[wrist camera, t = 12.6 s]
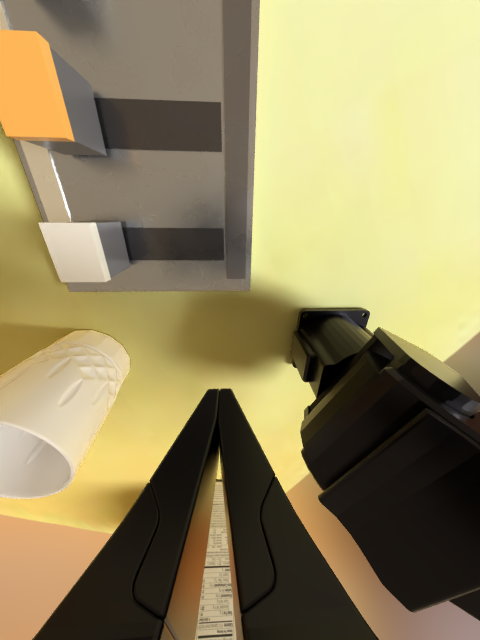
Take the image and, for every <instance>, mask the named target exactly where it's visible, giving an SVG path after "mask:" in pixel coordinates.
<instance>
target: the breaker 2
mask: <svg viewBox="0 0 480 640" xmlns="http://www.w3.org/2000/svg"><path fill="white" fill-rule="evenodd" d="M38 224H39V226H40V229H41V232H42V234H43V237H44V240H45V242H46V245H47V247H48V250H49V253H50V255H51V258H52V261H53V263H54V266H55V268H56V271H57V274H58V276H59V279H60V282H107V281H109V280H110V279H111V277H113V276H115V275H117V274H119V273H120V272H122V271H124V270H126V269H127V268H129V267H130V263H129V258H128V253H127V249H126V244H125V240H124V235H123V231H122V226H121V222H120V221H74V222H39V223H38Z"/></svg>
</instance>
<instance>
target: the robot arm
mask: <svg viewBox="0 0 480 640" xmlns="http://www.w3.org/2000/svg"><path fill="white" fill-rule="evenodd" d="M306 313H307V315H306V316H304V317H303V315H304V314H306ZM363 313H365V314H364V315H363V316H362V314H363ZM369 316H370V313H369V311H367V310H366V309H303V310H301V311H300V313H299V317H298V324H297V330H295V331H294V333H293V339H292V346H291V355H292V365H293V367H295V368H297V369H298V371H299V374H300V376H301V378H302V380H303V381H304V382H309V384H310V386H311V388H312V390H313V392H314V394H315V396H316V400H315V401H314V402H313V403H312V404H311V405H310V406H308V407H307V408H306V409H305V410H304V420H303V422H302V425H301V431H300V433H301V438H302V443H303V447H304V448H303V449H302V451H301V453H302V457H303V459H304V461H305V463H306V466H307V468H308V470H309V471H310V473H311V474H312V476H313V478H314V479H315V481H316V483H317V484H318V485H319V486H320V488H321V489H322V490H323V492H322V493H320V494H319V496H318V498H319V501H320V502H321V503H322V504H323V505H324V506H325V507H326V508H327V509H328V510H329V511H330V512H332V513H333V514H334V515H335V516H336V517H337V518H338V520H339V521H340V522H341V523H342V524H343V526H344V527H345V528H346V529H347V531H348V532H349V533H350V534H351V536H352V537H353V539H354V540H355V542H356V543H357V544H358V546H359V547H360V549H361V550H362V552H363V554H364V555H365V557H366V559H367V560H368V562H369V563H370V565H371V567H372V568H373V570H374V572H375V573H376V575H377V576H378V578H379V580H380V581H381V583H382V584H383V585H384V586H385V587H386V588H387V590H389V592H390V593H391V594H392V595H393V596H394V597H396V598H397V599H398V600H399V601H400V602H401V603H402V604H403V605H404V606H405V607H406V608H407V609H408V610H409V611H411V612H417V611H420V610H423V609H426V608H429V607H432V606H434V605H437V604H440V603H443V602H446V601H450V602H451V603H453V604H454V605H456V606H458V607H459V608H461V609H462V610H464V611H465V612H467V613H468V614H470V615H471V616H473V617H475V618H476V619H478V620H479V621H480V396H479V395H478V394H477V393H476V391H475V390H474V389H473V388H472V387H471V386H470V385H469V384H468V383H467V381H466V380H465V379H464V378H463V377H462V376H461V375H460V374H459V373H458V372H456V371H455V370H453V369H452V368H450V367H449V366H447V365H446V364H444V363H443V362H441V361H440V360H438V359H437V358H435V357H434V356H432V355H431V354H429V353H428V352H426V351H424V350H423V349H421V348H419V347H417V346H415V345H413V344H411V343H409V342H407V341H405V340H403V339H401V338H400V337H398V336H396V335H394V334H392V333H390V332H388V331H386V330H384V329H382V328H380V327H378V328H377V329H376V331H375V332H374V334H373V333H371V332H370V331H369V330H368V329H367V328H366V325H367V322H368V319H369ZM219 449H220V463H221V474H222V485H223V496H224V507H225V518H226V529H227V540H228V551H229V562H230V573H231V584H232V595H233V606H234V617H235V628H236V639H237V640H379V639H378V638H377V637H376V635H375V634H374V633H373V631H372V630H371V628H370V627H369V625H368V624H367V623H366V621H365V620H364V618H363V617H362V615H361V614H360V612H359V611H358V609H357V608H356V606H355V605H354V603H353V602H352V600H351V599H350V597H349V596H348V594H347V592H346V591H345V589H344V588H343V586H342V585H341V583H340V582H339V580H338V579H337V577H336V575H335V574H334V572H333V571H332V569H331V568H330V566H329V565H328V563H327V562H326V560H325V558H324V557H323V555H322V554H321V552H320V551H319V549H318V548H317V546H316V545H315V543H314V541H313V540H312V538H311V537H310V535H309V534H308V532H307V530H306V529H305V527H304V525H303V524H302V522H301V520H300V519H299V517H298V516H297V514H296V512H295V510H294V509H293V507H292V505H291V503H290V501H289V500H288V498H287V496H286V494H285V492H284V490H283V488H282V487H281V485H280V483H279V481H278V479H277V477H275V473H274V471H273V469H272V467H271V465H270V463H269V462H268V460H267V458H266V456H265V454H264V452H263V450H262V448H261V446H260V444H259V442H258V440H257V438H256V436H255V434H254V432H253V430H252V428H251V426H250V425H249V423H248V421H247V419H246V417H245V415H244V413H243V411H242V409H241V407H240V405H239V403H238V401H237V399H236V397H235V395H234V393H233V391H232V390H231V389H220V390H219V389H209V390H207V392H206V393H205V395H204V397H203V398H202V400H201V401H200V403H199V404H198V406H197V407H196V409H195V410H194V412H193V414H192V415H191V417H190V418H189V420H188V421H187V423H186V424H185V426H184V428H183V429H182V431H181V432H180V434H179V435H178V437H177V438H176V440H175V442H174V443H173V445H172V446H171V448H170V449H169V451H168V452H167V454H166V455H165V457H164V459H163V460H162V462H161V463H160V465H159V466H158V468H157V469H156V471H155V473H154V474H153V476H152V477H151V479H150V483H147V485H146V486H145V488H144V489H143V491H142V493H141V494H140V496H139V497H138V499H137V500H136V502H135V503H134V505H133V506H132V508H131V509H130V511H129V512H128V513H127V515H126V516H125V518H124V519H123V521H122V522H121V524H120V525H119V526H118V528H117V529H116V530H115V532H114V533H113V534H112V536H111V537H110V539H109V540H108V541H107V543H106V544H105V545H104V547H103V548H102V550H101V551H100V552H99V553H98V555H97V556H96V557H95V559H94V560H93V561H92V562H91V564H90V565H89V566H88V568H87V569H86V570H85V572H84V573H83V574H82V576H81V577H80V578H79V579H78V581H77V582H76V584H75V585H74V586H73V587H72V589H71V590H70V591H69V593H68V594H67V595H66V596H65V598H64V599H63V600H62V602H61V603H60V604H59V606H58V607H57V608H56V610H55V611H54V612H53V613H52V615H51V616H50V618H49V619H48V620H47V621H46V623H45V624H44V625H43V627H42V628H41V629H40V630H39V632H38V633H37V634H36V636H35V637H34V638H33V639H32V640H195V635H196V628H197V620H198V612H199V605H200V597H201V590H202V582H203V575H204V567H205V560H206V552H207V544H208V537H209V529H210V522H211V514H212V507H213V499H214V492H215V484H216V476H217V469H218V461H219Z"/></svg>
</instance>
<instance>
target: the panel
mask: <svg viewBox="0 0 480 640" xmlns="http://www.w3.org/2000/svg"><path fill="white" fill-rule="evenodd" d="M259 8H260V0H0V30H19V31H36V32H37V33H39V34H40V35H41V36H42V37H43V38H44V39H45V40H46V41H47V42H48V43H49V46H50V47H51V48H52V49H53V50H54V51H55V52H56V53H57V54H58V55H59V56H61V57H62V58H63V59H64V60H65V61H66V62H67V63H68V64H69V65H70V66H71V67H72V68H74V69H75V70H76V71H77V72H78V73H79V74H80V75H81V76H82V77H83V78H84V79H85V80H87V81H88V82H89V83H90V84H91V87H92V91H93V96H94V100H95V105H96V110H97V114H98V119H99V123H100V128H101V132H102V137H103V141H104V146H105V151H106V155H107V156H99V155H64V154H61V153H58V152H55V151H52V150H49V149H46V148H44V147H41V146H38V145H35V144H32V143H29V142H26V141H23V140H16V139H13V140H14V142H15V145H16V148H17V151H18V153H19V156H20V159H21V161H22V164H23V167H24V170H25V172H26V175H27V178H28V180H29V183H30V186H31V189H32V191H33V194H34V197H35V199H36V202H37V205H38V207H39V210H40V213H41V216H42V218H43V221H44V222H74V221H120V222H121V226H122V231H123V235H124V240H125V244H126V249H127V253H128V258H129V263H130V267H129V268H127V269H126V270H124V271H122V272H120V273H119V274H117V275H115V276H113V277H111V279H110V280H109V281H107V282H66V283H67V286H68V289H69V292H98V291H250V276H251V247H252V217H253V187H254V157H255V127H256V97H257V67H258V38H259Z"/></svg>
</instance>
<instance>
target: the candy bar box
mask: <svg viewBox="0 0 480 640" xmlns="http://www.w3.org/2000/svg"><path fill="white" fill-rule="evenodd" d="M195 640H237V639H236V628H235V617H234V606H233V595H232V584H231V573H230V562H229V551H228V540H227V529H226V518H225V507H224V496H223V485H222V480H216V484H215V492H214V499H213V507H212V514H211V522H210V529H209V537H208V544H207V552H206V560H205V567H204V575H203V582H202V590H201V597H200V605H199V612H198V620H197V628H196V635H195Z"/></svg>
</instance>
